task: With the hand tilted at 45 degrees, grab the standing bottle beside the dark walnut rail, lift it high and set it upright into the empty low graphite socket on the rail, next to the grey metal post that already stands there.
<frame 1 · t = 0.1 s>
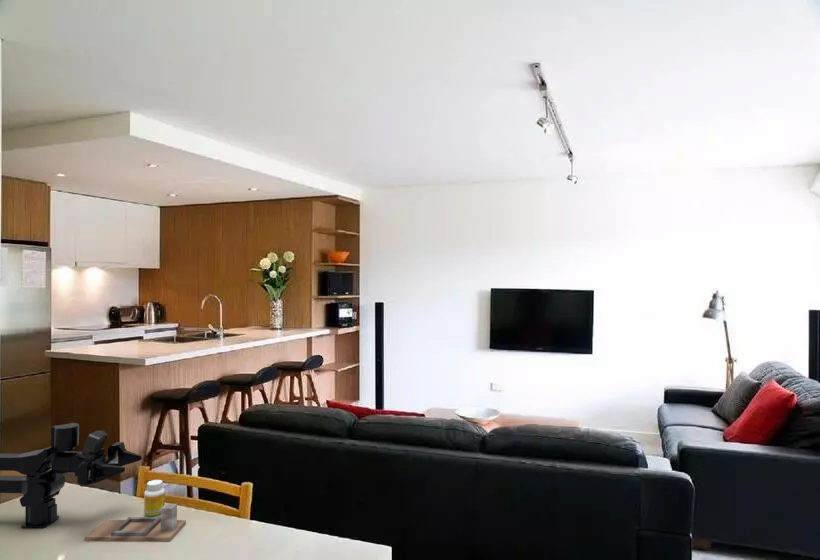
hand: (133, 463, 148), 17 cm above the table, tool horizontal, fingers open, 9 cm apart
supplement bottle: (154, 516, 153), on the table
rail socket: (136, 532, 143), on the table
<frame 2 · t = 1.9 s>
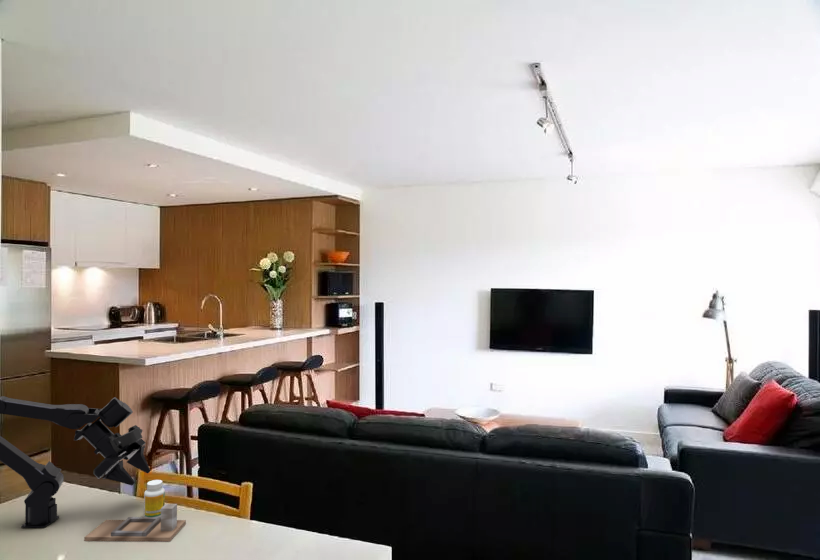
hand: (141, 478, 153), 11 cm above the table, tool tilted 45°, fingers open, 9 cm apart
nothing on the table moved.
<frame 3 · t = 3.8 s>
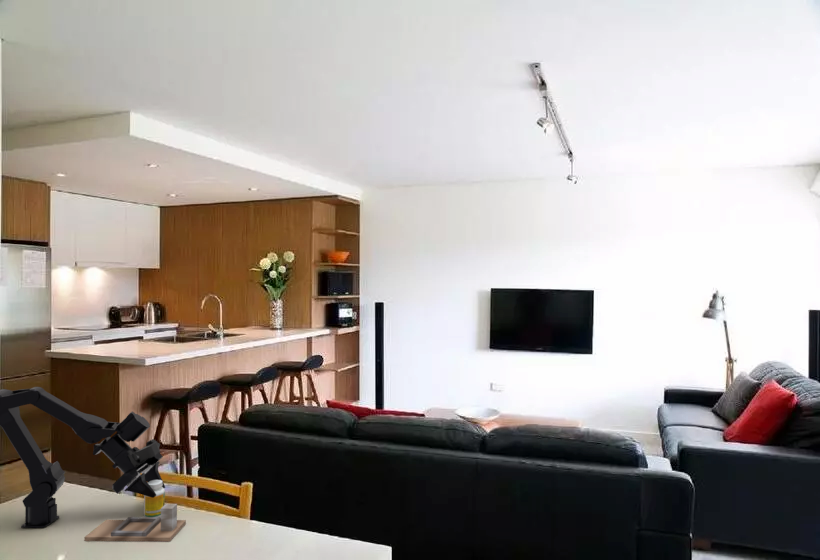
hand: (159, 492, 153), 7 cm above the table, tool tilted 45°, fingers closed on supplement bottle, 5 cm apart
supplement bottle: (154, 516, 153), on the table, touching gripper
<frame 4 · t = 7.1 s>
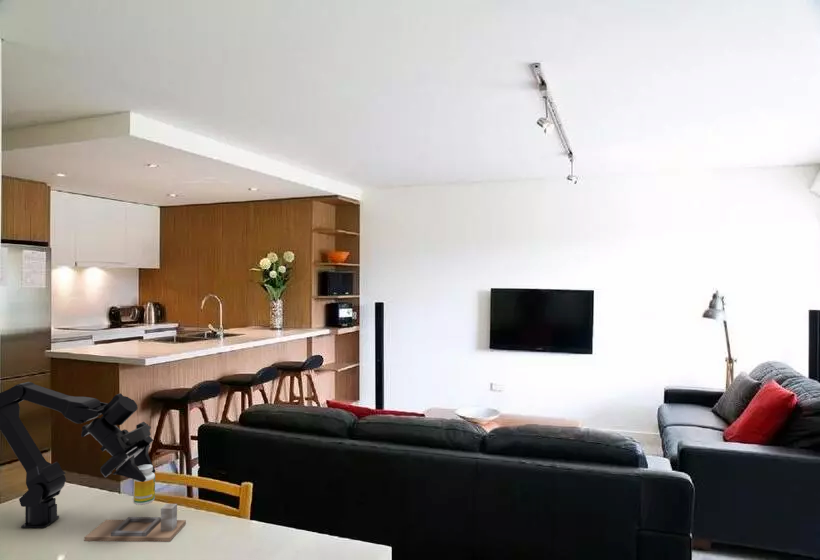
hand: (149, 476, 147), 13 cm above the table, tool tilted 45°, fingers closed on supplement bottle, 5 cm apart
supplement bottle: (144, 502, 147), point 6 cm above the table, touching gripper
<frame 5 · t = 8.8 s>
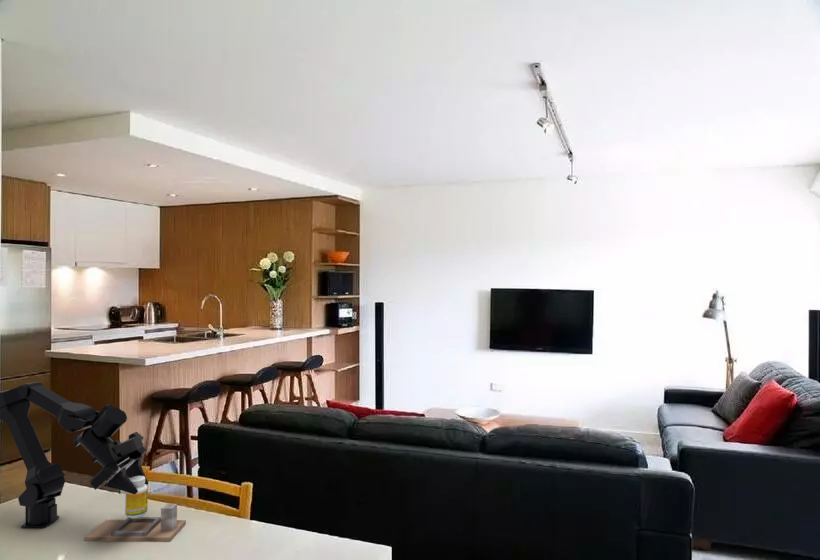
hand: (141, 488, 143), 12 cm above the table, tool tilted 45°, fingers closed on supplement bottle, 5 cm apart
supplement bottle: (136, 514, 143), point 5 cm above the table, touching gripper
when the fingers open (9 cm above the table, at t = 10.4 s): supplement bottle stays where it is, resting on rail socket.
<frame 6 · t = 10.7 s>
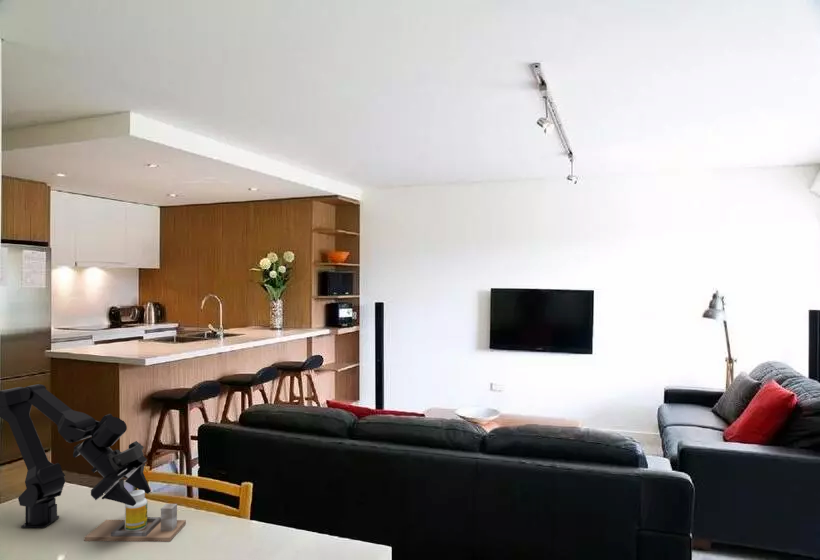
hand: (142, 498, 143), 9 cm above the table, tool tilted 45°, fingers open, 8 cm apart
supplement bottle: (136, 529, 143), point 1 cm above the table, touching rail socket
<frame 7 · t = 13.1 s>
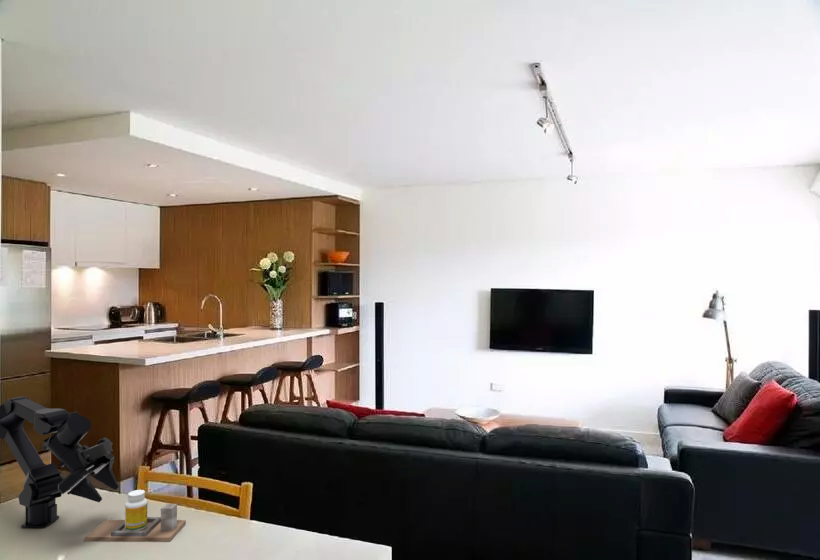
hand: (109, 494, 144), 10 cm above the table, tool tilted 45°, fingers open, 9 cm apart
nothing on the table moved.
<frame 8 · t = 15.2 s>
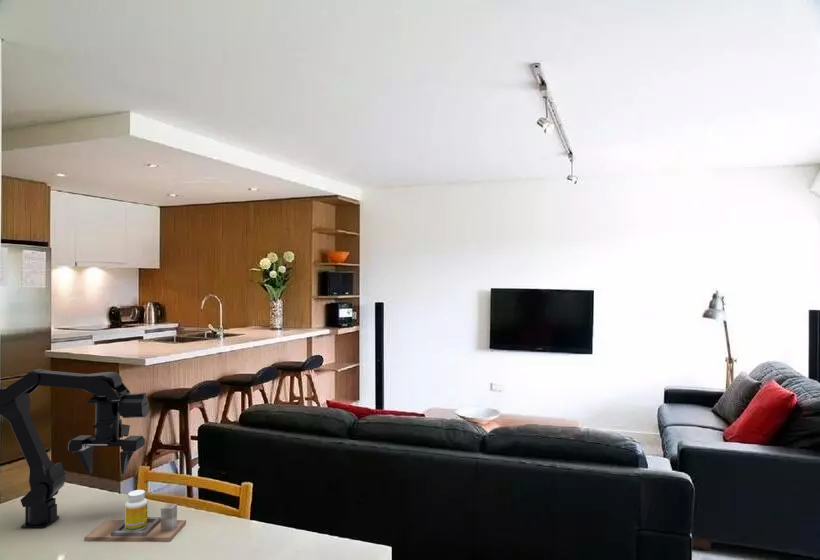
hand: (106, 473, 150), 13 cm above the table, tool pointing down, fingers open, 9 cm apart
nothing on the table moved.
at the end: supplement bottle 0.2 cm off-centre on the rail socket, point 0.8 cm above the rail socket's base; supplement bottle tilted 0°; the gripper is holding nothing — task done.
